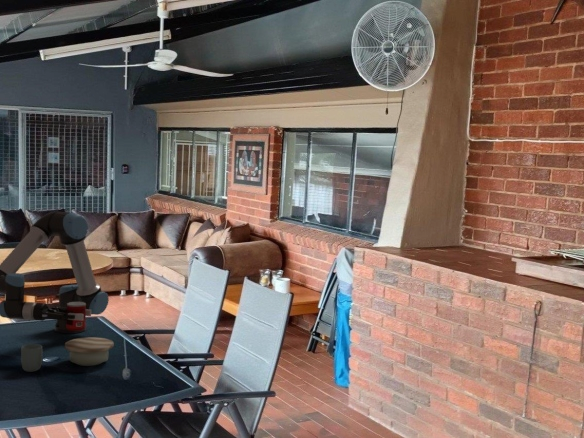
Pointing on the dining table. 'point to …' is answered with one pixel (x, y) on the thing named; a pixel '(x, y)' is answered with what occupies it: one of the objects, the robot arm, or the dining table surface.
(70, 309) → the canned food
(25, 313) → the robot arm
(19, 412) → the dining table surface
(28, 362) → the cup
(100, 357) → the bowl
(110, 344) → the bowl cover
